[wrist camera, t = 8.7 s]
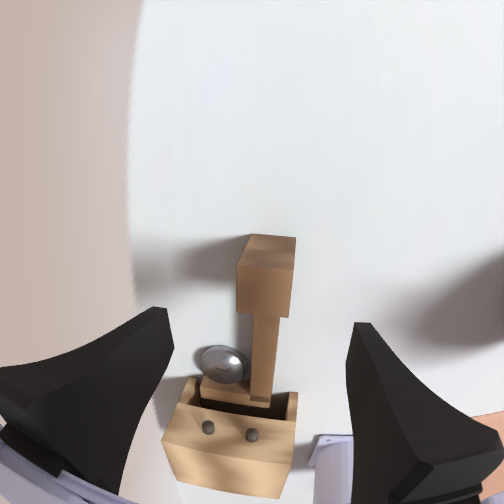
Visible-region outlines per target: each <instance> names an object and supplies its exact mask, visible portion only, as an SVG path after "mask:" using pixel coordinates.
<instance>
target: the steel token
mask: <svg viewBox="0 0 504 504" xmlns="http://www.w3.org/2000/svg"><path fill="white" fill-rule="evenodd" d="M200 368H201V370H202V372H203V373H204V375H205V376H207V377H208V378H209V379H211V380H212V381H215V382H217V383H221V384H234V383H237V382H239V381H240V380H241V379H242V378H243V376H244V373H245V369H246V360H245V358H244V357H243V355H242V354H241V353H240V352H238V351H237V350H235V349H233V348H231V347H228V346H224V345H214V346H211V347H209V348H207V349H206V350H205V351H204V353H203V355H202V358H201V360H200Z"/></svg>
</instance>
